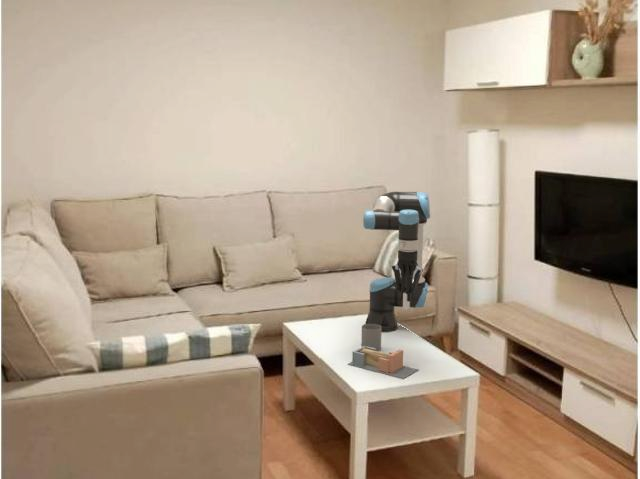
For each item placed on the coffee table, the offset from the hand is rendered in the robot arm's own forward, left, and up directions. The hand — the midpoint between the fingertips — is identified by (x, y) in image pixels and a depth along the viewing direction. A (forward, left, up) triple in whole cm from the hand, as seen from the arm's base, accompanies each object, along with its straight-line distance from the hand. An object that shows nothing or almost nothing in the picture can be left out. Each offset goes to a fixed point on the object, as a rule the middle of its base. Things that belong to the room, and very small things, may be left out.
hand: (406, 308), depth 291 cm
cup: (-11, -23, -25) cm, 36 cm away
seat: (+5, -7, -24) cm, 26 cm away
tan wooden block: (+5, -10, -24) cm, 26 cm away
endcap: (+5, -3, -24) cm, 25 cm away
